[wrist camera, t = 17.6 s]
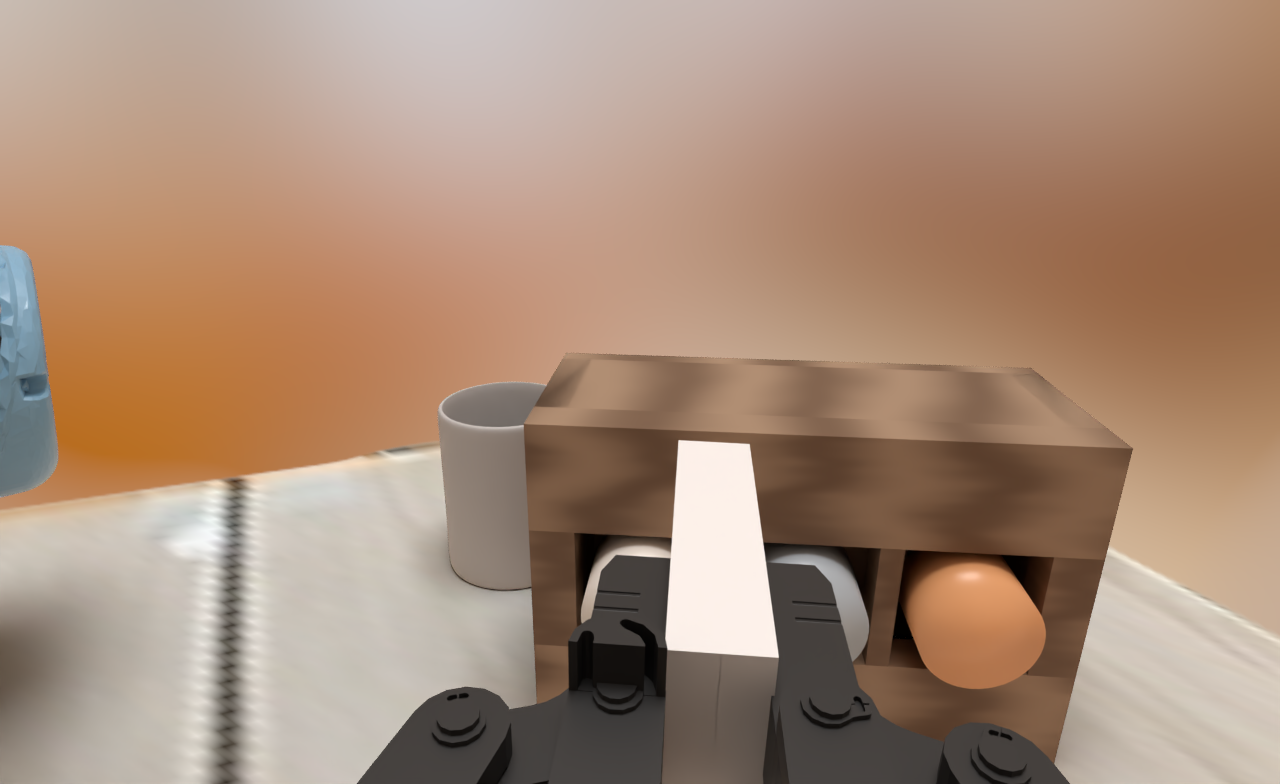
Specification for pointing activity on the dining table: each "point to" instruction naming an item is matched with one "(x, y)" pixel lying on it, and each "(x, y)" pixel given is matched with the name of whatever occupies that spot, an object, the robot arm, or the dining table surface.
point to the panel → (840, 498)
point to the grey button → (843, 582)
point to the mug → (487, 482)
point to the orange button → (970, 617)
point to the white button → (620, 546)
